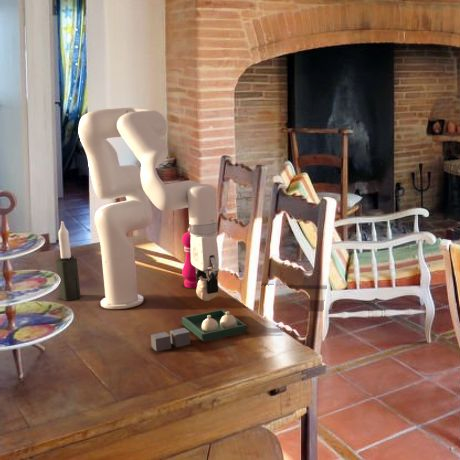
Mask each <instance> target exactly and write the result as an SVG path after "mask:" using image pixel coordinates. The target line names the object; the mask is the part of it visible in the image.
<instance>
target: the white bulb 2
mask: <svg viewBox="0 0 460 460" xmlns="http://www.w3.org/2000/svg"><path fill="white" fill-rule="evenodd" d="M226 311H227V310H226ZM229 313H230V311H227V312H226V315H224V316H223V317H222V318H221V320H220V325H221V327H222V328H223V329H226V328H231V327H235V325H236V319H235V317H236V316H234V315H233V316H232V314H231V313H230V314H231V315H230V314H229Z"/></svg>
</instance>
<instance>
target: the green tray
mask: <svg viewBox="0 0 460 460" xmlns="http://www.w3.org/2000/svg"><path fill="white" fill-rule="evenodd" d="M226 312H227V310H226V309H224V308H221V309H217V310H212V311H207V312H202V313H201V312H200V313H197V314H192V315H187V316H182V317H181V324H182V325H183V326H184V328H186V329H187V330H188V331H189V332H191V333H193V334H194V335H195V336H196V337H198V339H200V340H201V341H203V342H207V341H208V342H209V341H212V340H216V339H222V338H225V337H231V336H234V335H239V334H243V333H247V332H248V325H247V324H246V323H244V322H243V321H242V320H241V319H238V318H237V317H236V316H234V314H233V315H232V314H231V312H229V314H230V315H232V316H234V317H235V319H236V325H235V327H231V328H226V329H223V328H222V327H221V325H220V320H221V318H222V317H223V316H224V315H226ZM208 315H211V318H212V319H214V320H216V322H217V323H218V328H217V330H216V331H212V332H207V333H205V332H203V330H202V323H203V321H204V320H206V319H207V316H208Z"/></svg>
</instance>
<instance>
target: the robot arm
mask: <svg viewBox="0 0 460 460" xmlns="http://www.w3.org/2000/svg"><path fill="white" fill-rule="evenodd" d="M167 131H168V123H167V120H166V118H165V116H164V115H163V114H162V113H160V112H159V111H157V110H155V109H148V108H139V107H120V108H118V107H117V108H116V107H115V108H104V109H96V110H92V111H89V112H87V113H85V114H83V115H82V116H81V118H80V120H79V123H78V136H79V139H80V142H81V145H82V148H83V150H84V152H85V155H86V158H87V164H88V168H89V173H90V178H91V182H92V187H93V191H94V194H95V195H96V197H97V198H98V199H100V200H106V201H107V200H108V201H109V200H115V199H119V198H125V199H126V200H124V201H118V202H114V203H108V204H106V205H103V206H101V207H100V208H98V210H96V212H95V214H94V225H95V228H96V231H97V235H98V239H99V244H100V253H101V262H102V263H101V264H102V273H103V285H104V296H105V297H104V298H102V299H101V300H100V306H101V308H104V309H107V310H125V309H131V308H134V307H137V306H140V305H142V304H143V303H144V301H145V300H144V296H143V295H141V294H139V290H138V289H139V288H138V279H137V278H138V277H137V267H136V266H137V265H136V255H135V248H134V244H133V242H132V241H131V239H130V238H129V236H128V233H130V232H135V231H139V230H143V229H145V228H148V227H149V226H150V225H151V223H152V221H153V208H152V204H153V205H154V206H155V207H156V208H157V209H158V210H160V211H162V212H164V213H165V212H166V213H167V212H168V213H169V212H174V211H178V210H181V209H187V208H188V209H187V210H188V223H189V224H188V225H189V228H190V235H191V264H192V265H193V266H194V267H196V269H195V271H196V273H197V274H196V282H197V285H198V281H199V280H200V279H198V278H199V277H200V276H202V277H203V278H204V279H207V280H206V288H207V293H208V294H211V293H217V292H218V293H219V291H218V287H219V271H220V268H219V267H220V259H219V258H220V257H219V249H218V248H219V247H218V241H217V235H218V233H219V229H218V215H217V214H218V212H217V211H218V210H217V197H216V196H217V195H216V188H215V187H214V186H213V184H209V183H200V182H197V181H195V180H192V179H191V180H190V179H189V180H182V181H175V182H171V183H166V184H165V183H164V181H163V180H162V179H161V178H160V176H159V174H158V172H157V170H156V168H158V167H159V166H161V164H163V163H164V162H165V161H166V159H167V158H168V156H169V149H168V147H167V145H166V143H164V142H163V140H162V138H163V137H164V136H165V135H166V134H167ZM114 138H122V139H123V141H124V142H125V143H126V145H127V146H128V148H129V149H130V150H131V151H132V153H133V154H134V156H135V158H137V160H138V162H140V164H141V167H138V166H137V165H133V164H123V165H120V161H119V156H118V153H117V150H116V149H115V147H114V146H113V145H112V143H111V142H110V141H109V140H108V139H114ZM218 293H217V294H218Z"/></svg>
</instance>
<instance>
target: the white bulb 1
mask: <svg viewBox="0 0 460 460" xmlns="http://www.w3.org/2000/svg"><path fill="white" fill-rule="evenodd" d="M217 328H218V323H217V322H216V320H214V319H212V318H211V315H208V316H207V319H206V320H204V321H203V323H202V330H203V332H205V333H207V332H212V331H216V330H217Z"/></svg>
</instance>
